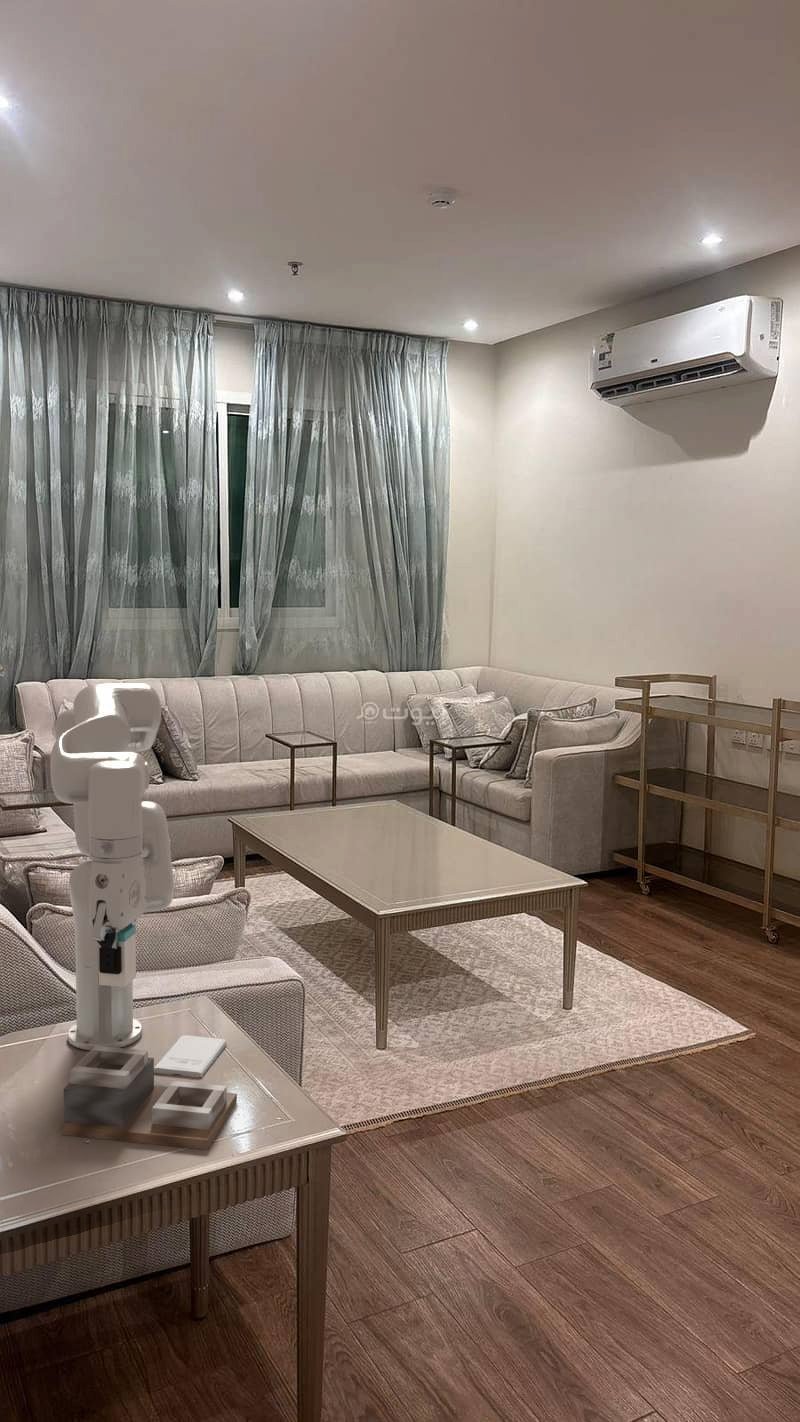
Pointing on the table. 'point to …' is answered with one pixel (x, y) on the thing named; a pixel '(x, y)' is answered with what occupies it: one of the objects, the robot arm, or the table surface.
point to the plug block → (123, 959)
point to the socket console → (140, 1102)
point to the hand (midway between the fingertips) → (117, 966)
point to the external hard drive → (190, 1056)
